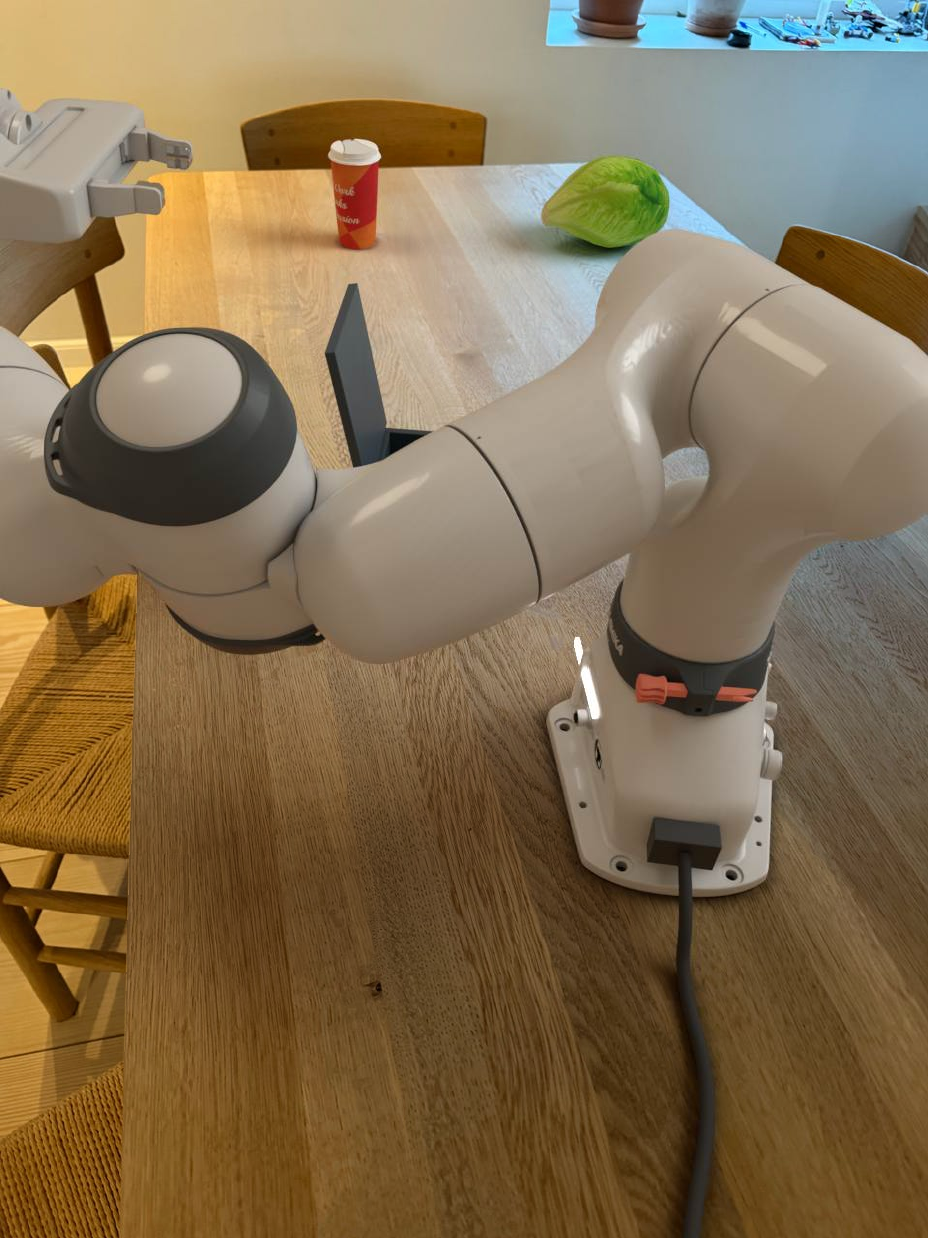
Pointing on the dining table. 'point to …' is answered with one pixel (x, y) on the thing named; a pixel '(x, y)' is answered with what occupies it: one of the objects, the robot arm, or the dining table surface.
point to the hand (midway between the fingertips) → (177, 176)
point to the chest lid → (356, 381)
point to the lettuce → (610, 202)
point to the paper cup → (355, 191)
